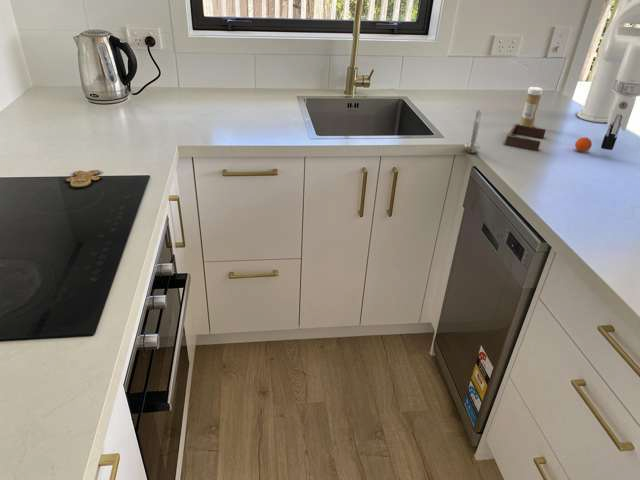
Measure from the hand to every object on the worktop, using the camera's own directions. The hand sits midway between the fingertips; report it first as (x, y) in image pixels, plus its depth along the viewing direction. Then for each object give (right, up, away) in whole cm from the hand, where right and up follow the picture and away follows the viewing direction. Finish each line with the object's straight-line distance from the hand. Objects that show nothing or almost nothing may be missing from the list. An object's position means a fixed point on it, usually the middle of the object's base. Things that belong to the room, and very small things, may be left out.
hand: (606, 148), depth 148 cm
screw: (-41, -1, +2) cm, 41 cm away
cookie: (-150, -12, -21) cm, 152 cm away
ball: (-6, +2, +3) cm, 7 cm away
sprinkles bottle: (-15, +12, +24) cm, 30 cm away
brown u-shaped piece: (-21, +4, +11) cm, 24 cm away
